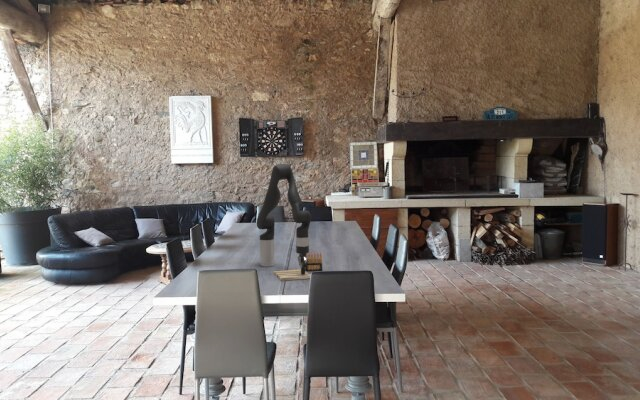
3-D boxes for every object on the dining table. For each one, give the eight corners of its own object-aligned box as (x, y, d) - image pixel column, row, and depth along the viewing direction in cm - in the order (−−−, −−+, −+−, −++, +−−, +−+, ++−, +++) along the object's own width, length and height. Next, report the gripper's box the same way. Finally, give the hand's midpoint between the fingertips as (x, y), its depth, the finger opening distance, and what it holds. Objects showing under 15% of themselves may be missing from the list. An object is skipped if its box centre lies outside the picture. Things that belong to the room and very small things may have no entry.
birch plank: (277, 277, 297) (277, 274, 297) (306, 274, 302) (306, 272, 302) (281, 280, 287) (281, 278, 287) (311, 278, 293) (311, 275, 293)
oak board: (273, 273, 306) (273, 271, 306) (302, 271, 312) (302, 269, 311) (277, 277, 297) (277, 274, 297) (306, 274, 303) (306, 272, 303)
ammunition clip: (305, 271, 311) (304, 252, 310) (305, 271, 313) (304, 251, 312) (322, 271, 312) (322, 251, 311) (322, 270, 313) (322, 251, 312)
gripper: (293, 243, 299) (293, 272, 300) (299, 247, 287) (300, 277, 288) (305, 242, 301) (305, 271, 303) (312, 246, 289) (312, 275, 290)
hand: (303, 274), depth 295 cm, fingers closed
